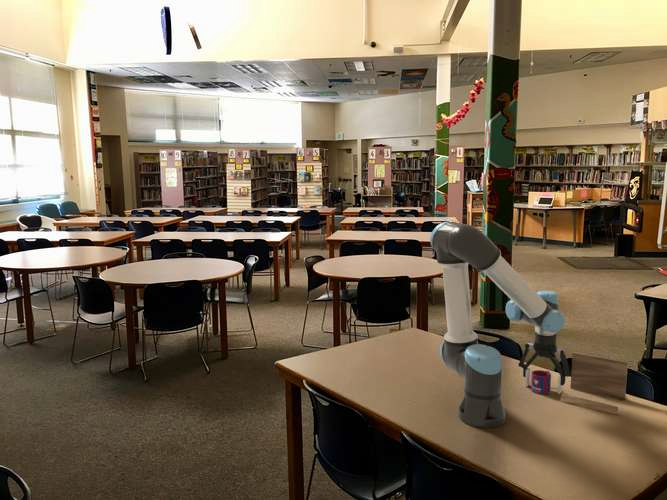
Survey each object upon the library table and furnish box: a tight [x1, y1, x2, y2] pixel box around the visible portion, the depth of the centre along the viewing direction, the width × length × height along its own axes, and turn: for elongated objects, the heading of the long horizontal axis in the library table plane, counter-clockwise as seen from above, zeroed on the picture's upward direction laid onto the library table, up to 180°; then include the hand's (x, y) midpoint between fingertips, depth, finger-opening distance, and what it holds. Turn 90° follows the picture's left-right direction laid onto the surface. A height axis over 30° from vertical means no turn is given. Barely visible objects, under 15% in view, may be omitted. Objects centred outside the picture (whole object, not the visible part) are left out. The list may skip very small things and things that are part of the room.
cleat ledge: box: [560, 393, 619, 416], centre depth 180 cm, size 1×18×2 cm, turn 53°
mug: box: [530, 369, 552, 395], centre depth 195 cm, size 7×10×7 cm
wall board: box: [570, 351, 629, 401], centre depth 191 cm, size 3×18×14 cm, turn 53°
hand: (543, 389), depth 196 cm, fingers open, 11 cm apart
